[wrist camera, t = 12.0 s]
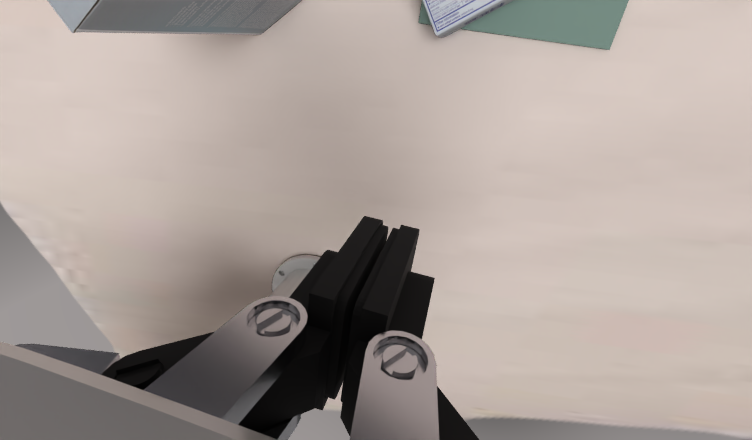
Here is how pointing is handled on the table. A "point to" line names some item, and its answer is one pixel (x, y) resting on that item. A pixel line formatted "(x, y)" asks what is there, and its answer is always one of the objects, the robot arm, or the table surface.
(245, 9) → the hard drive box
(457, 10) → the medicine box
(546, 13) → the felt pad
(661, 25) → the table surface
